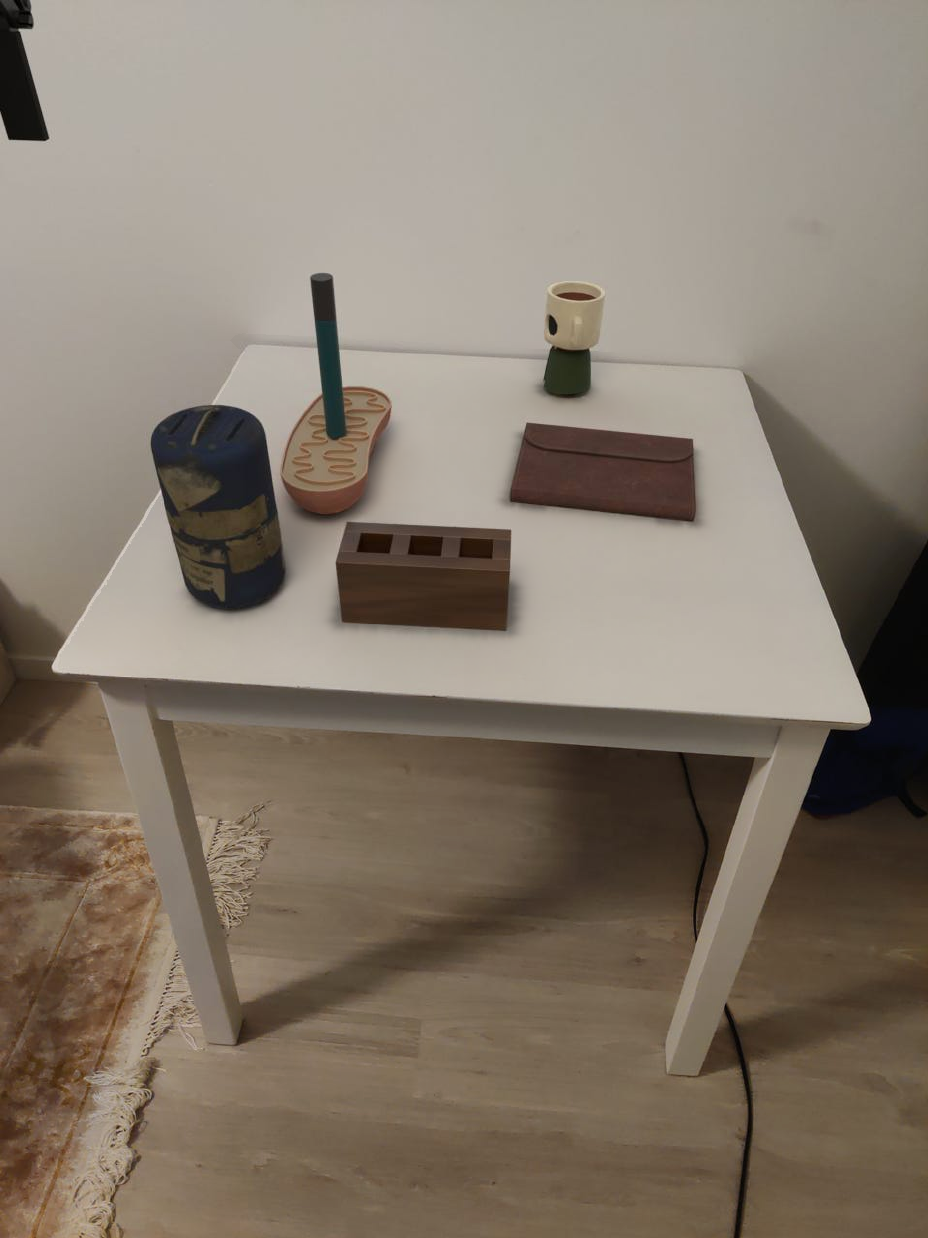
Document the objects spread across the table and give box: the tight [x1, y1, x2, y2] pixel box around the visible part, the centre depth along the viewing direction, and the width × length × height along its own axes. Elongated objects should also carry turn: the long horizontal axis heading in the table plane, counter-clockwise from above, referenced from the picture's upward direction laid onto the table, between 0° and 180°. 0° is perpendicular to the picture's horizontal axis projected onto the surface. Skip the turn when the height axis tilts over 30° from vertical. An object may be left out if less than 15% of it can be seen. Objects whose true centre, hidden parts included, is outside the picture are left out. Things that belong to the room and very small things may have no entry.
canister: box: [150, 404, 287, 610], centre depth 76 cm, size 10×10×18 cm
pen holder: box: [335, 521, 512, 632], centre depth 78 cm, size 6×15×7 cm, turn 87°
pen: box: [309, 272, 346, 438], centre depth 88 cm, size 2×2×17 cm
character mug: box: [542, 280, 606, 395], centre depth 109 cm, size 11×7×13 cm, turn 0°
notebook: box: [509, 422, 697, 522], centre depth 97 cm, size 15×20×2 cm
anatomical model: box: [279, 385, 392, 515], centre depth 96 cm, size 23×10×5 cm, turn 174°
